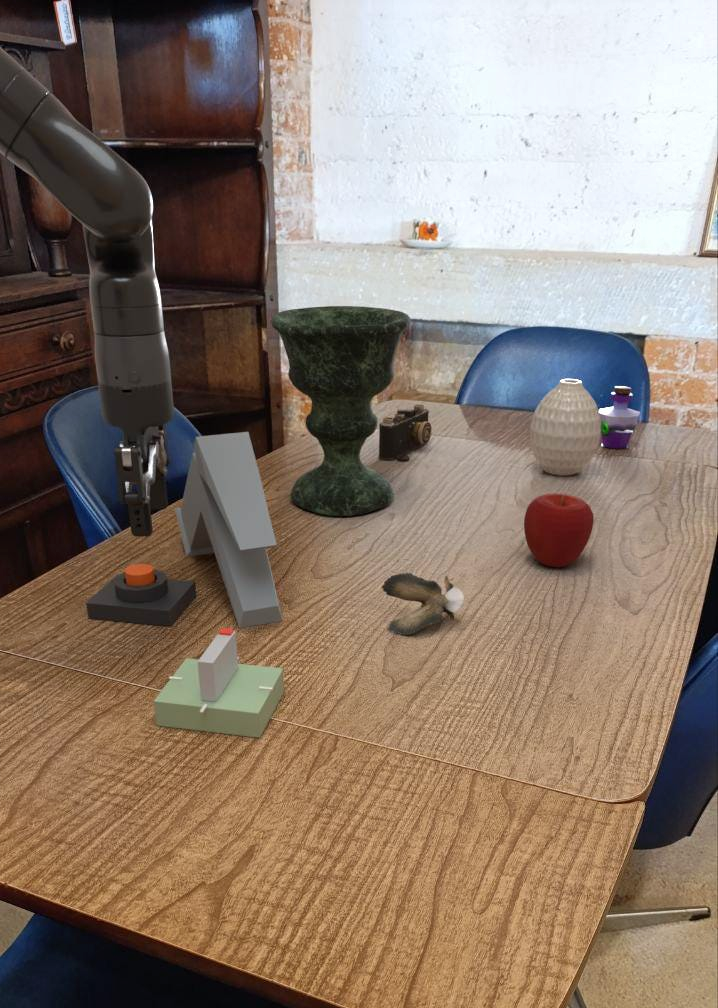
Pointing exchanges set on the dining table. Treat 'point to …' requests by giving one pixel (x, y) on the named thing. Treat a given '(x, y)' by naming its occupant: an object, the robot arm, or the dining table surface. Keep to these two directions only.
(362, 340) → the goblet
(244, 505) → the bracket
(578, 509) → the apple
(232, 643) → the grey flat block
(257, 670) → the base
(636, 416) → the potion bottle
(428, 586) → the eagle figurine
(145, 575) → the button
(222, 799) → the dining table surface
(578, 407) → the vase
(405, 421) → the camera
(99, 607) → the button box
